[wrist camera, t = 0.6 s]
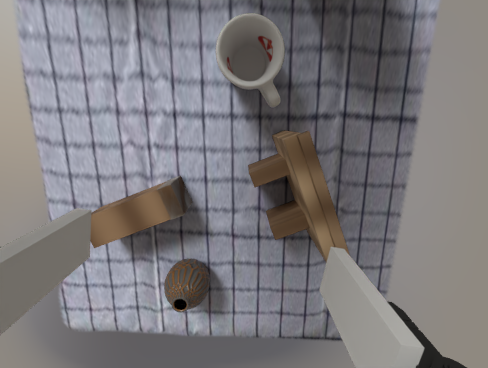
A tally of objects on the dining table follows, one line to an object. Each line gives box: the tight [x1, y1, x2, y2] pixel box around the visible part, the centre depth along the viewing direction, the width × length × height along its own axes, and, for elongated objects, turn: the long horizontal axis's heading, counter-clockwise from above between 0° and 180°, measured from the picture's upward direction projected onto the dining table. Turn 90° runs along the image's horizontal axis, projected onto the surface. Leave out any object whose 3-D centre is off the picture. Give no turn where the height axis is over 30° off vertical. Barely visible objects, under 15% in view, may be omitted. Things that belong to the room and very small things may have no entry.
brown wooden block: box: [90, 176, 192, 248], centre depth 39 cm, size 14×5×6 cm, turn 111°
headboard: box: [248, 130, 349, 263], centre depth 35 cm, size 16×8×13 cm, turn 21°
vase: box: [164, 259, 210, 312], centre depth 41 cm, size 7×7×9 cm
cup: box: [216, 13, 285, 108], centre depth 34 cm, size 11×8×8 cm
